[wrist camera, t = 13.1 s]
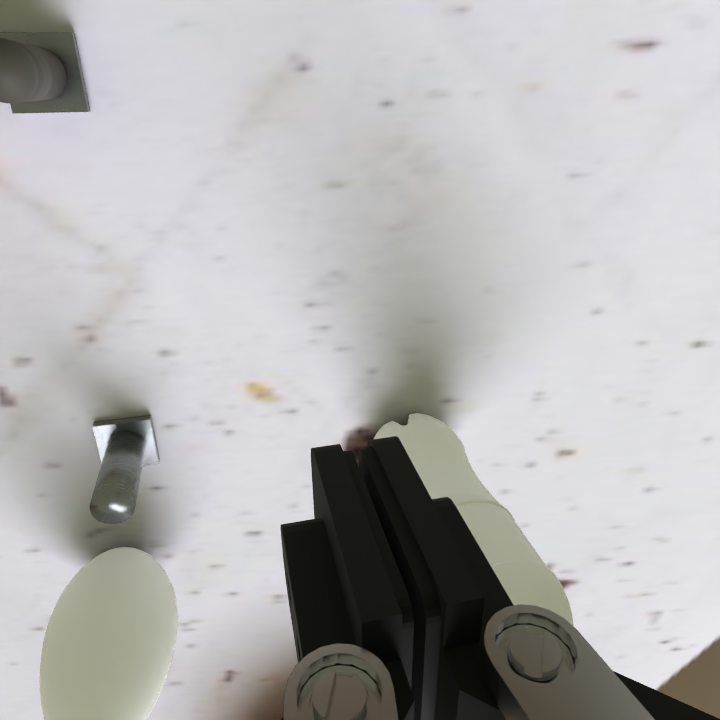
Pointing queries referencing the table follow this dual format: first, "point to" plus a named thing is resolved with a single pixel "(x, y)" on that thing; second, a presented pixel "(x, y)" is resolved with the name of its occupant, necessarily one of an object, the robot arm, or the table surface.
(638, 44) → the table surface
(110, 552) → the sauce bottle
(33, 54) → the gate
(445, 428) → the water bottle
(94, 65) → the table surface
